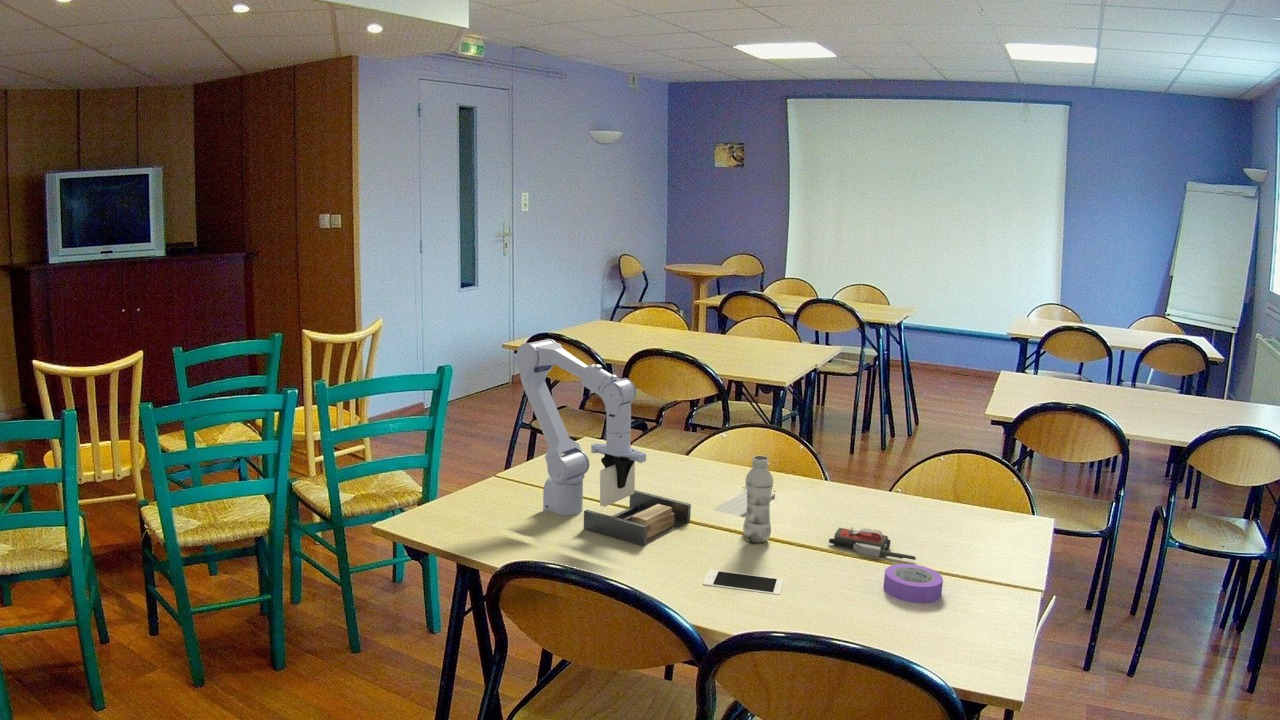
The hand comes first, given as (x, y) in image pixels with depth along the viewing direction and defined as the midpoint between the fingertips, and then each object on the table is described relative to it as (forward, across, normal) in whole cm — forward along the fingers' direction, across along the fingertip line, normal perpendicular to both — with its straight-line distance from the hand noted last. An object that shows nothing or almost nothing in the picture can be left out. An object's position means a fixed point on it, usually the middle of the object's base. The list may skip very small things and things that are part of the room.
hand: (617, 486), depth 234 cm
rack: (+10, -4, -2) cm, 12 cm away
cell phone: (+12, -39, +9) cm, 42 cm away
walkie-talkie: (+12, -54, -26) cm, 61 cm away
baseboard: (+12, -15, -30) cm, 35 cm away
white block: (+3, 0, 0) cm, 3 cm away
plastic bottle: (+11, -30, -14) cm, 35 cm away
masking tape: (+12, -69, -9) cm, 71 cm away
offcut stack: (+9, -9, -2) cm, 13 cm away
